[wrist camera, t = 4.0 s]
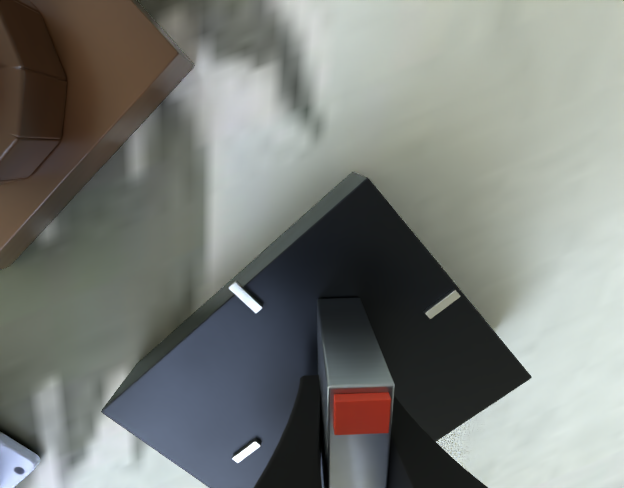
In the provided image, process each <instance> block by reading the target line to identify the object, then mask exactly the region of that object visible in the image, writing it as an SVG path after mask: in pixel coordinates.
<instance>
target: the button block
mask: <svg viewBox="0 0 624 488" xmlns="http://www.w3.org/2000/svg"><path fill="white" fill-rule="evenodd" d="M194 66H195V65H194V64H193V63H192V62H191V60H190V59H189V58H188V57H187V56H186V55H185V54H184V53H183V52H182V50H181V49H180V48H179V47H178V46H177V45H176V44H175V43H174V41H173V40H172V39H171V38H170V37H169V36H168V35H167V34H166V33H165V31H164V30H163V29H162V28H161V27H160V26H159V25H158V24H157V22H156V21H155V20H154V19H153V18H152V17H151V16H150V15H149V14H148V12H147V11H146V10H145V9H144V8H143V7H142V6H141V5H140V3H139V2H138V1H137V0H0V270H2V269H4V268H6V267H9V266H10V265H11V264H12V263H13V262H14V261H15V260H16V259H17V258H18V257H19V256H20V255H21V253H22V252H23V251H24V250H25V249H26V248H27V247H28V246H29V245H30V244H31V243H32V242H33V241H34V239H35V238H36V237H37V236H38V235H39V234H40V233H41V232H42V231H43V230H44V229H45V228H46V226H47V225H48V224H49V223H50V222H51V221H52V220H53V219H54V218H55V217H56V216H57V215H58V213H59V212H60V211H61V210H62V209H63V208H64V207H65V206H66V205H67V204H68V203H69V202H70V201H71V199H72V198H73V197H74V196H75V195H76V194H77V193H78V192H79V191H80V190H81V189H82V188H83V186H84V185H85V184H86V183H87V182H88V181H89V180H90V179H91V178H92V177H93V176H94V175H95V173H96V172H97V171H98V170H99V169H100V168H101V167H102V166H103V165H104V164H105V163H106V162H107V160H108V159H109V158H110V157H111V156H112V155H113V154H114V153H115V152H116V151H117V150H118V149H119V148H120V146H121V145H122V144H123V143H124V142H125V141H126V140H127V139H128V138H129V137H130V136H131V135H132V133H133V132H134V131H135V130H136V129H137V128H138V127H139V126H140V125H141V124H142V123H143V122H144V120H145V119H146V118H147V117H148V116H149V115H150V114H151V113H152V112H153V111H154V110H155V109H156V108H157V106H158V105H159V104H160V103H161V102H162V101H163V100H164V99H165V98H166V97H167V96H168V95H169V93H170V92H171V91H172V90H173V89H174V88H175V87H176V86H177V85H178V84H179V83H180V82H181V80H182V79H183V78H184V77H185V76H186V75H187V74H188V73H189V72H190V71H191V70H192V69H193V67H194Z"/></svg>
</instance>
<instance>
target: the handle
mask: <svg viewBox="0 0 624 488" xmlns="http://www.w3.org/2000/svg"><path fill="white" fill-rule="evenodd" d="M317 343H318V375H319V381H320V390H321V481H322V488H387V478H388V465H389V451H390V438H391V425H392V412H393V399H394V386H395V384H394V382H393V379H392V377H391V374H390V372H389V369H388V367H387V364H386V362H385V359H384V357H383V354H382V352H381V349H380V347H379V344H378V342H377V339H376V337H375V335H374V332H373V330H372V327H371V325H370V322H369V320H368V317H367V315H366V312H365V310H364V307H363V305H362V302H361V300H360V298H333V299H318V300H317Z"/></svg>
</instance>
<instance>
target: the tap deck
mask: <svg viewBox="0 0 624 488" xmlns="http://www.w3.org/2000/svg"><path fill="white" fill-rule="evenodd" d="M333 298H360V300H361V302H362V305H363V307H364V310H365V312H366V315H367V317H368V320H369V322H370V325H371V327H372V330H373V332H374V335H375V337H376V339H377V342H378V344H379V347H380V349H381V352H382V354H383V357H384V359H385V362H386V364H387V367H388V369H389V372H390V374H391V377H392V379H393V382H394V384H395V386H394V395H395V396H396V398H397V399H398V400H399V402H400V403H401V404H402V405H403V406H404V408H405V409H406V410H407V411H408V412H409V413H410V415H411V416H412V417H413V418H414V419H415V420H416V422H417V423H418V424H419V425H420V426H421V427H422V428H423V429H424V430H425V431H426V432H427V434H428V435H429V436H430V437H431V438H432V439H433V440H434V441H435V442H436V441H437V440H439V439H440V438H442V437H443V436H445V435H446V434H448V433H449V432H451V431H452V430H454V429H455V428H457V427H458V426H460V425H461V424H463V423H464V422H466V421H467V420H469V419H470V418H472V417H473V416H475V415H476V414H478V413H479V412H481V411H482V410H484V409H485V408H487V407H488V406H490V405H491V404H493V403H494V402H496V401H497V400H499V399H500V398H502V397H503V396H505V395H506V394H508V393H509V392H511V391H512V390H514V389H516V388H517V387H519V386H520V385H522V384H523V383H525V382H526V381H528V380H529V379H531V376H530V374H529V373H528V372H527V371H526V369H525V368H524V367H523V366H522V365H521V363H520V362H519V361H518V360H517V358H516V357H515V356H514V355H513V354H512V352H511V351H510V350H509V349H508V348H507V346H506V345H505V344H504V343H503V341H502V340H501V339H500V338H499V337H498V335H497V334H496V333H495V332H494V330H493V329H492V328H491V327H490V326H489V324H488V323H487V322H486V321H485V320H484V318H483V317H482V316H481V315H480V313H479V312H478V311H477V310H476V309H475V307H474V306H473V305H472V304H471V302H470V301H469V300H468V299H467V298H466V296H465V295H464V294H463V293H462V291H461V290H460V289H459V288H458V287H457V285H456V284H455V283H454V282H453V281H452V279H451V278H450V277H449V276H448V274H447V273H446V272H445V271H444V270H443V268H442V267H441V266H440V265H439V263H438V262H437V261H436V260H435V259H434V257H433V256H432V255H431V254H430V253H429V251H428V250H427V249H426V248H425V246H424V245H423V244H422V243H421V242H420V240H419V239H418V238H417V237H416V235H415V234H414V233H413V232H412V231H411V229H410V228H409V227H408V226H407V225H406V223H405V222H404V221H403V220H402V218H401V217H400V216H399V215H398V214H397V212H396V211H395V210H394V209H393V207H392V206H391V205H390V204H389V203H388V201H387V200H386V199H385V198H384V197H383V195H382V194H381V193H380V192H379V190H378V189H377V188H376V187H375V186H374V184H373V183H372V182H371V181H370V179H369V178H367V177H364V176H362V175H360V174H358V173H355V172H352V173H351V174H349V175H348V176H347V177H346V178H345V179H344V180H343V181H342V182H340V183H339V184H338V185H337V186H336V187H335V188H334V189H333V190H331V191H330V192H329V193H328V194H327V195H326V196H325V197H324V198H322V199H321V200H320V201H319V202H318V203H317V204H316V205H315V206H314V207H312V208H311V209H310V210H309V211H308V212H307V213H306V214H305V215H303V216H302V217H301V218H300V219H299V220H298V221H297V222H296V223H294V224H293V225H292V226H291V227H290V228H289V229H288V230H287V231H285V232H284V233H283V234H282V235H281V236H280V237H279V238H278V239H276V240H275V241H274V242H273V243H272V244H271V245H270V246H269V247H267V248H266V249H265V250H264V251H263V252H262V253H261V254H260V255H258V256H257V257H256V258H255V259H254V260H253V261H252V262H251V263H249V264H248V265H247V266H246V267H245V268H244V269H243V270H242V271H240V272H239V273H238V274H237V275H236V276H235V277H234V278H233V279H231V280H230V281H229V282H228V283H227V284H226V285H225V286H224V287H223V288H221V289H220V290H219V291H218V292H217V293H216V294H215V295H214V296H212V297H211V298H210V299H209V300H208V301H207V302H206V303H205V304H203V305H202V306H201V307H200V308H199V309H198V310H197V311H196V312H194V313H193V314H192V315H191V316H190V317H189V318H188V319H187V320H185V321H184V322H183V323H182V324H181V325H180V326H179V327H178V328H176V329H175V330H174V331H173V332H172V333H171V334H170V335H169V336H167V337H166V338H165V339H164V340H163V341H162V342H161V343H160V344H158V345H157V346H156V347H155V348H154V349H153V350H152V351H151V352H149V353H148V354H147V355H146V356H145V357H144V358H143V359H142V360H140V361H139V362H138V363H137V364H136V366H135V367H134V368H133V369H132V371H131V372H130V373H129V375H128V376H127V377H126V379H125V380H124V381H123V383H122V384H121V385H120V387H119V388H118V389H117V391H116V392H115V393H114V395H113V396H112V397H111V399H110V400H109V401H108V403H107V404H106V405H105V407H104V408H103V409H102V411H101V412H102V413H103V414H105V415H106V416H108V417H109V418H110V419H112V420H113V421H115V422H116V423H118V424H119V425H120V426H122V427H123V428H125V429H126V430H128V431H129V432H130V433H132V434H133V435H135V436H136V437H138V438H139V439H140V440H142V441H143V442H145V443H146V444H148V445H149V446H150V447H152V448H153V449H155V450H156V451H158V452H159V453H161V454H162V455H163V456H165V457H166V458H168V459H169V460H171V461H172V462H173V463H175V464H176V465H178V466H179V467H181V468H182V469H183V470H185V471H186V472H188V473H189V474H191V475H192V476H193V477H195V478H196V479H198V480H199V481H201V482H202V483H203V484H205V485H206V486H208V487H209V488H254V486H255V484H256V483H257V481H258V479H259V478H260V476H261V474H262V473H263V471H264V469H265V468H266V466H267V464H268V462H269V460H270V459H271V457H272V455H273V453H274V451H275V449H276V447H277V445H278V443H279V441H280V438H281V436H282V434H283V432H284V429H285V427H286V425H287V422H288V420H289V417H290V415H291V412H292V409H293V406H294V403H295V400H296V397H297V393H298V389H299V384H300V378H301V377H302V376H305V375H318V343H317V300H318V299H333Z"/></svg>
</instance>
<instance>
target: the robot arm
mask: <svg viewBox="0 0 624 488" xmlns="http://www.w3.org/2000/svg"><path fill="white" fill-rule="evenodd" d="M39 463H40V458H39V456H38V455H37V454H35V453H34V452H32V451H31V450H29V449H27V448H26V447H24V446H23V445H21V444H19V443H18V442H16V441H15V440H13V439H11V438H10V437H8V436H7V435H5V434H3V433H2V432H0V488H14V487H15V486H16V485H17V484H18V483H20V482H21V481H22V480H23V479H24V478H25V477H26V476H28V475H29V474H30V473H31V472H32V471H33V470H34V469H35V468H36V467H37V466H38V464H39ZM254 488H322V481H321V390H320V381H319V375H305V376H302V377H301V378H300V384H299V389H298V393H297V397H296V400H295V403H294V406H293V409H292V412H291V415H290V417H289V420H288V422H287V425H286V427H285V429H284V432H283V434H282V436H281V438H280V441H279V443H278V445H277V447H276V449H275V451H274V453H273V455H272V457H271V459H270V460H269V462H268V464H267V466H266V468H265V469H264V471H263V473H262V474H261V476H260V478H259V479H258V481H257V483H256V484H255V486H254ZM387 488H488V487H486V486H485V485H484V484H483V483H481V482H480V481H479V480H478V479H476V478H475V477H474V476H473V475H471V474H470V473H469V472H468V471H467V470H465V469H464V468H463V467H462V466H461V465H460V464H459V463H457V462H456V461H455V460H454V459H453V458H452V457H451V456H450V455H449V454H448V453H446V452H445V451H444V450H443V449H442V448H441V447H440V446H439V445H438V444H437V443H436V442H435V441H434V440H433V439H432V438H431V437H430V436H429V435H428V434H427V432H426V431H425V430H424V429H423V428H422V427H421V426H420V425H419V424H418V423H417V422H416V420H415V419H414V418H413V417H412V416H411V415H410V413H409V412H408V411H407V410H406V409H405V408H404V406H403V405H402V404H401V403H400V402H399V400H398V399H397V398H396V396H395V395H394V399H393V412H392V425H391V438H390V451H389V465H388V478H387Z"/></svg>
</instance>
